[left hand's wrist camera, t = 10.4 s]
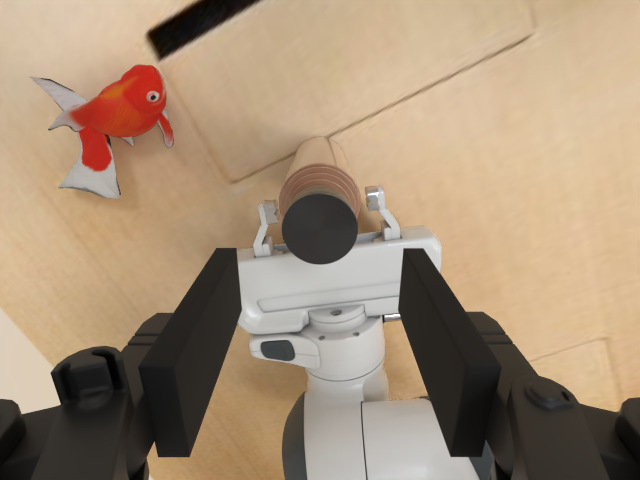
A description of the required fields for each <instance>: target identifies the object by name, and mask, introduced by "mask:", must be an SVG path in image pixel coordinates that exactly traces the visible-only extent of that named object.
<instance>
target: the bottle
mask: <svg viewBox="0 0 640 480" xmlns="http://www.w3.org/2000/svg"><path fill="white" fill-rule="evenodd" d="M313 186H327V187H331V188H334V189H336V190H338V191H340V192H341V193H343V194H344V195H345V196H346V197H347V198H348V199H349V201H350V202H351V204H352V206H353V208H354V212H355V215H356V219H357V218H358V216H359V213H360V208H361V198H360V193H359V189H358V187H357V184H356V182H355V179H354V177H353V174H352V172H351V169H350V167H349V164H348V161H347V159H346V156H345V154H344V152H343V150H342V148H341V147H340V146H339V145H338V144H337V143H336V142H335V141H333V140H331V139H329V138H325V137H314V138H311V139H309V140H307V141H305V142H304V143H303V144H302V145H301V146H300V147H299V148H298V150H297V152H296V154H295V156H294V159H293V161H292V164H291V166H290V169H289V171H288V174H287V177H286V179H285V182H284V184H283V187H282V189H281V192H280V197H279V208H280V213H281V216H282V218H284V215H285V212H286V209H287V206H288V204H289V202H290V201H291V199H292V198H293V197H294V196H295V195H296V194H297V193H299V192H300V191H302V190H304V189H306V188H309V187H313Z"/></svg>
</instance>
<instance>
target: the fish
mask: <svg viewBox="0 0 640 480" xmlns="http://www.w3.org/2000/svg"><path fill="white" fill-rule="evenodd" d="M30 78H31V79H32V80H33V81H35V82H36V83H37V84H38V85H39V86H40V87H42V88H43V89H44V90H45V91H46V92H47V93H48V94H49V95H50V96H51V97H52V98H53V99H54V100H55V102H56V103H57V104H58V105H59V106H60V108H61V109H62V110H63V111H64V112H63V113H62V114H61V115H60V116H59V117H58V118H57V119H56V120H55V121H54V123H53V124H52V125H51V126H50V128H49V129H48V130H52V129H54V128H57V127H59V126H64V125H65V126H69V127H70V128H71V129H72V130H73V131H75V132H77V134H78V137H79V140H80V146H81V148H80V155H79V158H78V160H77V162H76V164H75V165H74V166H73V168H72V169H71V171H70V172H69V173H68V175H67V176H66V178H65V179H64V180H63V182H62V183H61V184H60V186H59V187H58V188H73V189H79V190H83V191H88V192H91V193H94V194H97V195H99V196H102V197H105V198H119V199H120V194H121V193H120V189H119V186H118V182H117V178H116V171H115V165H114V159H113V154H112V148H111V143H110V138H109V136H108V135H110V136H115V137H121V138H122V139H124V140H125V141H126V142H128V143H129V144H130V145H131V146H134V143H133V139H132V137H134V136H138V135H141V134H143V133H145V132H147V131H149V130H150V129H151V128H152V127H153V126H154V125H155V124H156V123H158V125H159V127H160V128H161V130H162V132H163V135H164V143H165V145H166V146H167V147H168V148H170V147H172V145H173V130H172V128H171V126H170V123H169V121H168V114H167V110H165V109H164V107H165V104H166V86H165V83H164V79H163V77H162V75H161V74H160V72H159V71H158V70H157V69H156V68H155V67H154V66H151V65H135V66H134V67H133V68H132V69H131V70H129V71H128V72H126V73H125V74H124V75H123V77H122V78H121V80H119V81H117V82H114V83H112V84H111V85H109V86H108V87H106V88H105V89H104V90H103V91H102V92H101V93H100V94H99V95H98V97H95V98H93V99H91V100H89V101H86V100H85V99H84V98H82V97H81V96H80V95H78V94H77V93H75V92H74V91H72V90H70V89H68V88H66V87H64V86H62V85H61V84H59V83H57V82H55V81H53V80H51V79H43V78H35V77H30Z"/></svg>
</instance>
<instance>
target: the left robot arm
mask: <svg viewBox="0 0 640 480" xmlns="http://www.w3.org/2000/svg"><path fill="white" fill-rule="evenodd" d="M241 312H242V303H241V292H240V281H239V270H238V259H237V248H216V250H215V251H214V253H213V254H212V256H211V257H210V259H209V260H208V262H207V263H206V265H205V266H204V268H203V269H202V271H201V272H200V274H199V275H198V277H197V278H196V280H195V281H194V283H193V285H192V286H191V288H190V289H189V291H188V292H187V294H186V295H185V297H184V298H183V300H182V301H181V303H180V304H179V306H178V307H177V309H176V310H175V312H174V313H157V314H155V315H154V316H152V317H151V318H149V319H148V320H147V321H145V322H144V323H143V324H142V325H141V326H140V328H139V329H138V330H137V332H136V333H135V336H133V337H132V338H131V340H130V341H129V342H128V345H127V346H125V347H124V349H123V350H122V351H121V352H120V351H119V350H117V349H116V348H113V347H108V346H100V347H92V348H88V349H85V350H81V351H79V352H77V353H75V354H72V355H70V356H68V357H67V358H65V359H64V360H63V361H61V362H60V363H58V364H57V365H56V367H55V368H54V369H53V370H52V372H51V376H52V379H53V382H54V385H55V388H56V391H57V394H58V397H59V400H60V403H61V405H59V406H56V407H52V408H48V409H43V410H39V411H35V412H30V413H26V414H21V411H20V409H19V406H18V404H16V403H15V402H14V401H12V400H6V399H0V480H148V479H149V468H148V462H147V458H146V457H147V455H148V453H149V451H150V449H151V447H152V445H153V443H154V441H155V445H156V449H157V454H158V457H190V454H191V451H192V449H193V446H194V443H195V440H196V437H197V435H198V432H199V429H200V426H201V424H202V421H203V418H204V415H205V412H206V410H207V407H208V404H209V401H210V398H211V396H212V393H213V390H214V387H215V384H216V382H217V379H218V376H219V373H220V370H221V368H222V365H223V362H224V359H225V356H226V354H227V351H228V348H229V345H230V342H231V340H232V337H233V334H234V331H235V328H236V326H237V323H238V320H239V317H240V314H241ZM398 312H399V314H400V317H401V320H402V323H403V326H404V328H405V331H406V334H407V337H408V340H409V342H410V345H411V348H412V351H413V354H414V356H415V359H416V362H417V365H418V368H419V370H420V373H421V376H422V379H423V382H424V384H425V387H426V390H427V393H428V396H429V398H430V401H431V404H432V407H433V410H434V412H435V415H436V418H437V421H438V424H439V426H440V429H441V432H442V435H443V437H444V440H445V443H446V446H447V449H448V451H449V454H450V457H482V454H483V449H484V445H485V440H486V441H487V443H488V445H489V447H490V449H491V451H492V453H493V455H494V458H493V462H492V466H491V470H490V475H489V479H488V480H640V397H639V398H629V399H627V400H626V401H625V402H623V403H622V406H621V409H620V411H619V413H617V412H612V411H608V410H604V409H599V408H595V407H590V406H586V405H583V404H580V403H579V402H578V401H577V399H576V398H575V396H574V395H573V394H572V393H571V392H570V391H568V390H567V389H566V388H565V387H564V386H562V385H560V384H558V383H556V382H555V381H553V380H551V379H547V378H544V377H541V376H538V374H537V373H536V372H535V370H534V369H533V368H532V366H531V365H530V364H529V363H528V361H527V360H526V359H525V357H524V356H523V355H522V354H521V352H520V351H519V350H518V348H517V347H516V346H515V344H513V342H512V341H511V339H510V338H509V337H508V335H506V334H505V331H504V330H503V329H502V328H501V326H500V325H499V324H498V322H497V321H495V320H494V319H492V318H491V317H490V316H488V315H487V314H485V313H484V312H465V310H464V309H463V307H462V306H461V304H460V303H459V301H458V300H457V298H456V297H455V295H454V294H453V292H452V291H451V289H450V288H449V286H448V285H447V283H446V281H445V280H444V278H443V277H442V275H441V274H440V272H439V271H438V269H437V268H436V266H435V265H434V263H433V262H432V260H431V259H430V257H429V256H428V254H427V253H426V251H425V250H424V248H403V259H402V270H401V281H400V292H399V303H398Z"/></svg>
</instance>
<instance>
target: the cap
mask: <svg viewBox="0 0 640 480" xmlns="http://www.w3.org/2000/svg"><path fill="white" fill-rule="evenodd" d="M282 235H283V239H284V242H285V244H286V246H287V248H288V249H289V250H290V251H291V253H292V254H293V255H295V256H296V257H297V258H299V259H300V260H302V261H304V262H307V263H310V264H316V265H324V264H330V263H333V262H336V261H338V260H340V259H341V258H343V257H344V256H345V255H347V254H348V253H349V251H350V250H351V249H352V247H353V246H354V244H355V242H356V239H357V235H358V223H357V219H356V215H355V212H354V208H353V206H352V204H351V202H350V201H349V199H348V198H347V197H346V196H345V195H344V194H343V193H341V192H340V191H338V190H336V189H334V188H331V187H327V186H313V187H309V188H306V189H304V190H302V191H300V192H299V193H297V194H296V195H295V196H294V197H293V198H292V199H291V201H290V202H289V204H288V206H287V209H286V212H285V215H284V218H283V223H282Z"/></svg>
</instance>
